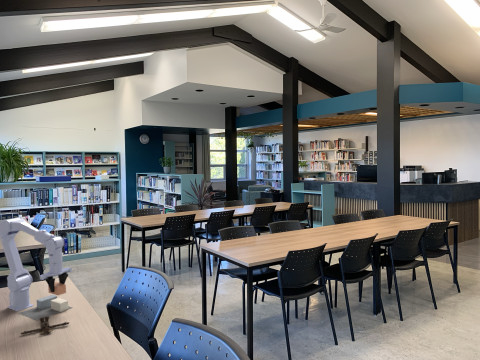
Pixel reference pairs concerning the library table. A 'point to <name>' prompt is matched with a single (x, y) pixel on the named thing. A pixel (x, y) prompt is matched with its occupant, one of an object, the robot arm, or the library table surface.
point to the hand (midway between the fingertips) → (57, 290)
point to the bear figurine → (45, 326)
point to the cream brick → (59, 304)
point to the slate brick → (45, 302)
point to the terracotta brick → (58, 289)
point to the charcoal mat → (40, 313)
